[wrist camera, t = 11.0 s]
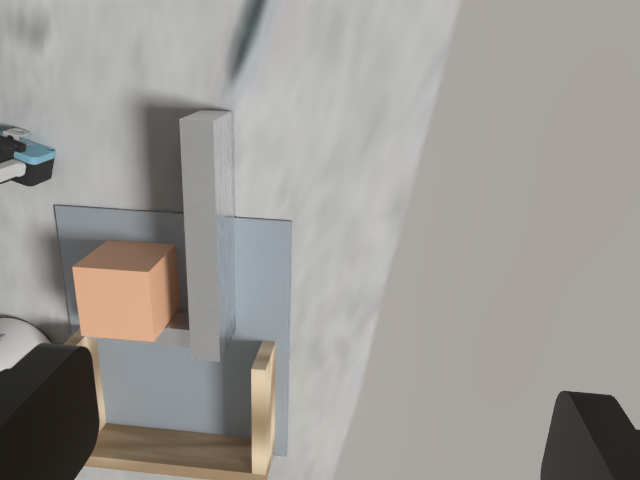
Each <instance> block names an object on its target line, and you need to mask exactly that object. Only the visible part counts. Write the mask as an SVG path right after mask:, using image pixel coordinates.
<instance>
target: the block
mask: <svg viewBox="0 0 640 480" xmlns="http://www.w3.org/2000/svg"><path fill="white" fill-rule="evenodd" d="M72 269H73V277H74V284H75V292H76V299H77V306H78V314H79V321H80V329H81V336H87V337H100V338H112V339H124V340H137V341H149V342H154V341H155V340H156V339H157V337H158V336H159V335H160V333H161V332H162V331H163V329H164V328H165V327H166V325H167V324H168V323H169V321H170V320H171V319H172V317H173V316H174V315H175V313H176V312H177V311H178V309H179V308H180V302H179V287H178V271H177V255H176V244H161V243H146V242H131V241H115V240H108V241H106V242H105V243H104V244H102V245H101V246H100V247H98V248H97V249H95V250H94V251H93V252H91V253H90V254H89V255H87V256H86V257H85V258H83V259H82V260H81V261H79V262H78V263H77V264H75V265H74V266H73V267H72Z"/></svg>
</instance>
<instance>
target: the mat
mask: <svg viewBox="0 0 640 480" xmlns="http://www.w3.org/2000/svg"><path fill="white" fill-rule="evenodd" d="M55 213H56V221H57V228H58V236H59V243H60V251H61V258H62V266H63V274H64V281H65V289H66V296H67V304H68V311H69V319H70V326H71V334H72V335H73V334H74V333H75V332H76V331H77V330H78V329H79V328H80V321H79V314H78V306H77V299H76V292H75V284H74V277H73V269H72V267H73V266H74V265H75V264H77V263H78V262H79V261H81V260H82V259H83V258H85V257H86V256H87V255H89V254H90V253H91V252H93V251H94V250H95V249H97V248H98V247H100V246H101V245H102V244H104V243H105V242H106V241H108V240H115V241H131V242H146V243H161V244H176V255H177V271H178V287H179V302H180V308H182V309H188V289H187V268H186V248H185V227H184V214H183V213H169V212H154V211H139V210H125V209H110V208H95V207H81V206H66V205H55ZM291 235H292V221H286V220H271V219H257V218H242V217H234V239H235V302H236V331H235V333H234V335H233V337H232V339H231V341H230V343H229V345H228V347H227V349H226V351H225V353H224V355H223V357H222V359H221V361H220V362H215V361H204V360H193V359H191V350H190V348H187V347H176V346H165V345H153V344H142V343H131V342H120V341H109V340H98V339H97V346H98V355H99V363H100V372H101V381H102V389H103V398H104V407H105V415H106V423H111V424H121V425H131V426H141V427H151V428H161V429H171V430H180V431H190V432H200V433H210V434H220V435H230V436H239V437H249V438H252V405H251V368H252V366H253V363H254V361H255V358H256V356H257V353H258V351H259V348H260V345H261V343H262V341H272V342H276V350H275V440H274V454H273V455H278V456H287V427H288V379H289V331H290V283H291Z"/></svg>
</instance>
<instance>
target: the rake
mask: <svg viewBox="0 0 640 480" xmlns="http://www.w3.org/2000/svg"><path fill="white" fill-rule="evenodd" d="M179 124H180V145H181V165H182V186H183V207H184V227H185V248H186V268H187V289H188V309H182V308H179V309H178V311H177V312H176V313H175V315H174V316H173V317H172V319H171V320H170V321H169V323H168V324H167V325H166V327H165V328H164V329H163V331H162V332H161V333H160V335H159V336H158V337H157V339H156V340H155V341H154V342H149V341H137V340H124V339H112V338H100V337H87V339H98V340H109V341H120V342H131V343H142V344H153V345H165V346H176V347H187V348H190V350H191V359H193V360H204V361H215V362H220V361H221V359H222V357H223V355H224V353H225V351H226V349H227V347H228V345H229V343H230V341H231V339H232V337H233V335H234V333H235V331H236V302H235V239H234V177H233V114H232V111H218V110H200V111H198V112H195V113H193V114H190V115H188V116H185V117H183V118H180V119H179Z"/></svg>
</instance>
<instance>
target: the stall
mask: <svg viewBox="0 0 640 480" xmlns="http://www.w3.org/2000/svg"><path fill="white" fill-rule="evenodd" d="M64 345H75V346H84V347H87V348H88V349H89V351H90V353H91V356H92V361H93V369H94V377H95V386H96V394H97V402H98V410H99V420H100V424H99V433H98V438H97V442H96V445H95V447H94V450H93V452H92V454H91V456H90V457H89V459H88V460H87V462H86V463H85V465H84V466H90V467H99V468H108V469H117V470H127V471H136V472H145V473H154V474H163V475H173V476H182V477H191V478H200V479H209V480H267V477H268V473H269V469H270V465H271V461H272V457H273V454H274V440H275V350H276V342H272V341H262V343H261V345H260V348H259V351H258V353H257V356H256V358H255V361H254V363H253V366H252V368H251V405H252V438H249V437H239V436H230V435H220V434H210V433H200V432H190V431H180V430H171V429H161V428H151V427H141V426H131V425H121V424H111V423H106V415H105V407H104V398H103V389H102V381H101V372H100V363H99V355H98V346H97V339H87V336H81V329H80V328H79V329H78V330H77V331H76V332H75V333H74V334H73V335H72V336H71V337H70V338H69V339H68V340H67V341H66V342H65V343H64Z"/></svg>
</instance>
